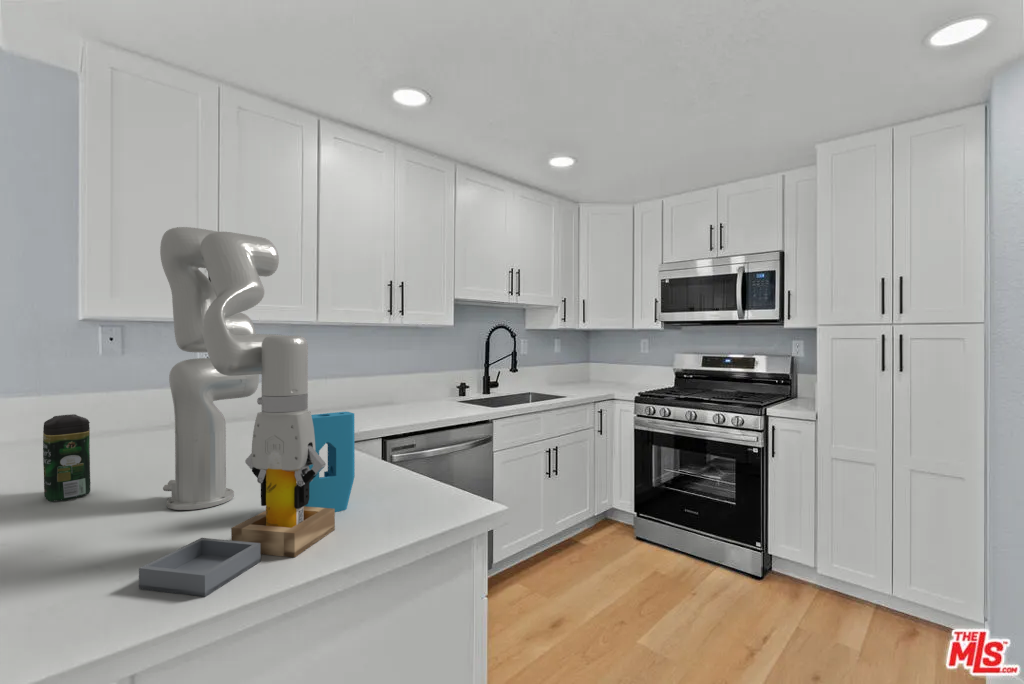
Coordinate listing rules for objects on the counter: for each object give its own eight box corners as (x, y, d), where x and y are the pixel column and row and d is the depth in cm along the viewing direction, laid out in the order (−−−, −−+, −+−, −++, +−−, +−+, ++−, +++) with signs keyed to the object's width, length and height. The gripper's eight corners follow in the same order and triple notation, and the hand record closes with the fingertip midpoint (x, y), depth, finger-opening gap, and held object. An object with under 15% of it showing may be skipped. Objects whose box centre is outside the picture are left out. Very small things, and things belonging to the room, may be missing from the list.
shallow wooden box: (231, 551, 84) (231, 527, 84) (278, 525, 95) (278, 504, 95) (294, 557, 81) (294, 533, 81) (334, 529, 93) (334, 508, 93)
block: (297, 520, 98) (297, 419, 98) (289, 514, 101) (289, 416, 101) (356, 507, 105) (355, 413, 105) (347, 501, 109) (346, 411, 109)
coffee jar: (41, 495, 113) (41, 415, 113) (87, 488, 119) (86, 411, 119) (45, 505, 107) (44, 419, 107) (93, 496, 113) (92, 415, 112)
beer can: (274, 523, 91) (274, 442, 91) (308, 523, 92) (308, 442, 91) (260, 537, 85) (260, 450, 85) (296, 536, 86) (296, 449, 85)
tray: (139, 588, 71) (138, 568, 71) (201, 555, 82) (201, 537, 82) (205, 596, 69) (204, 575, 69) (260, 561, 80) (260, 543, 80)
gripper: (227, 405, 86) (227, 508, 86) (316, 409, 83) (316, 516, 83) (257, 400, 94) (257, 495, 94) (340, 403, 90) (340, 501, 90)
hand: (285, 503), depth 88 cm, fingers closed on beer can, 6 cm apart
